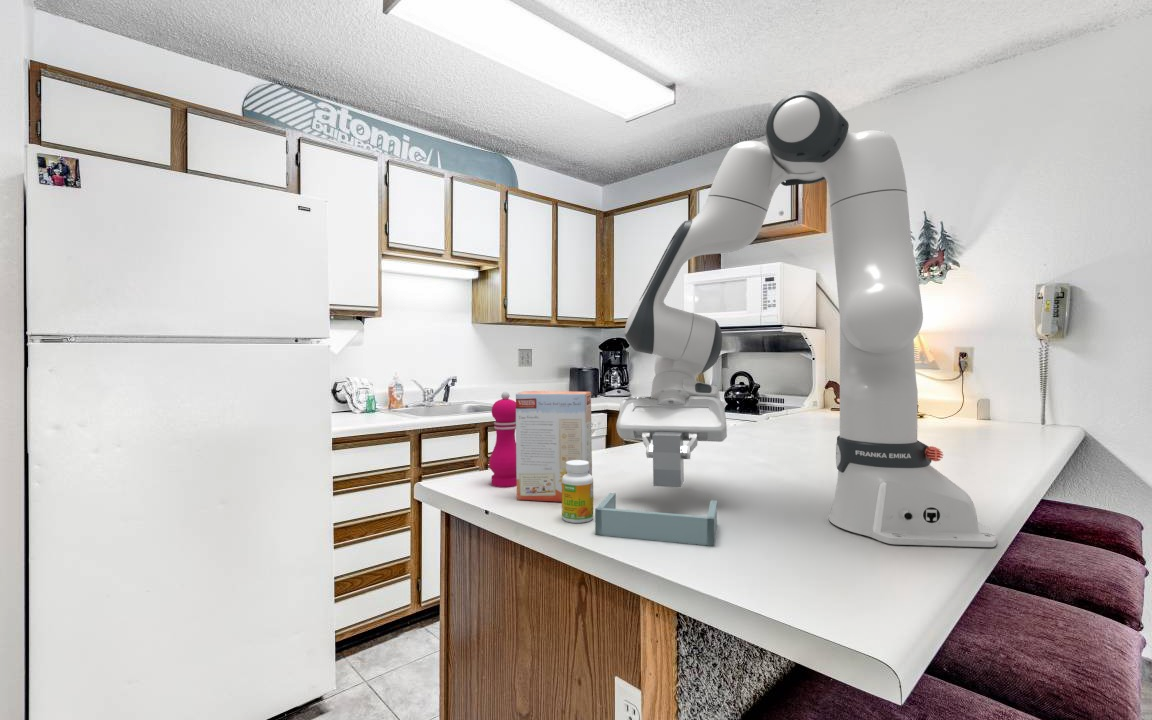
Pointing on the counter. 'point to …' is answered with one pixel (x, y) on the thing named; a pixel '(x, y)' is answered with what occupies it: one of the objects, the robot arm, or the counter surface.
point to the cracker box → (550, 440)
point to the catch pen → (655, 524)
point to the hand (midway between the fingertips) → (667, 456)
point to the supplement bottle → (577, 492)
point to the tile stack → (668, 459)
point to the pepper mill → (504, 443)
